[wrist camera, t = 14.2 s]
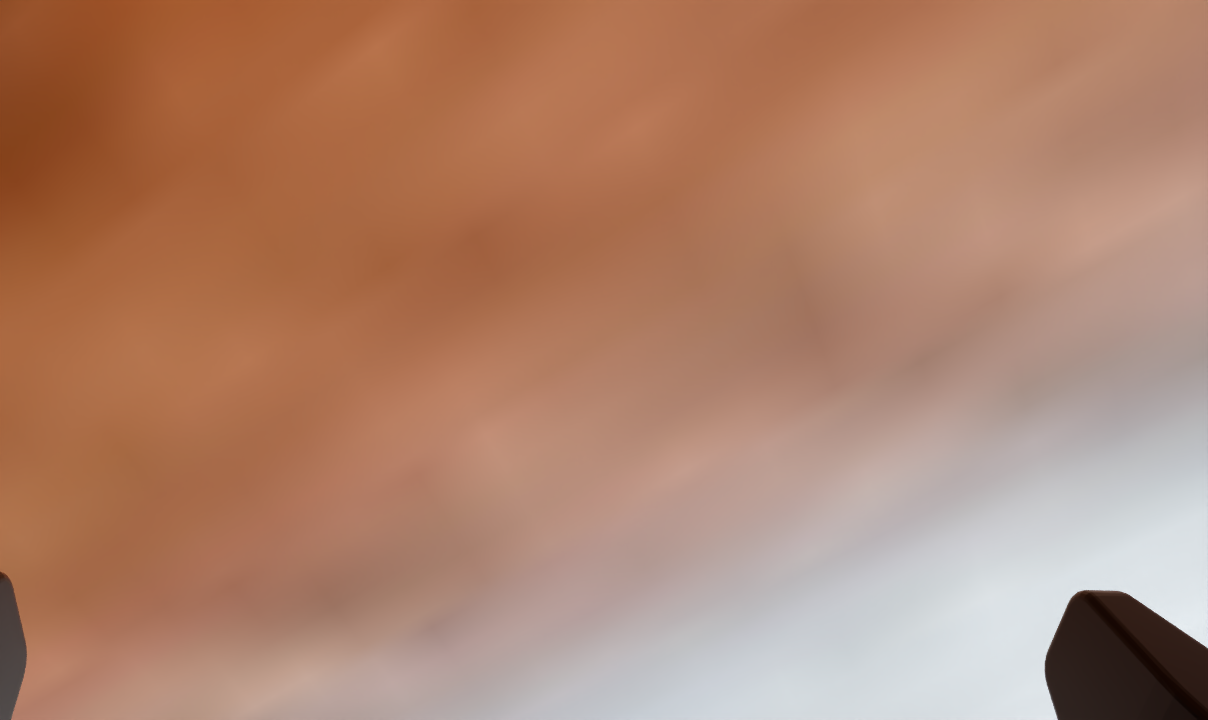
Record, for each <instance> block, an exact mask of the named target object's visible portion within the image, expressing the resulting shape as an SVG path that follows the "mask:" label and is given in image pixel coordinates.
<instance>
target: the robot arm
mask: <svg viewBox="0 0 1208 720" xmlns="http://www.w3.org/2000/svg"><path fill="white" fill-rule="evenodd" d="M26 658H27V650H26V642H25V638H24V633H23V629H22V624H21V620H20V616H19V611H18V607H17V603H16V598H15V594H14V589H13V586H12V583H11V581H10V579H9V578H8V576H7V575H6V574H4V573H2V572H0V720H11V718H12V714H13V711H14V708H15V704H16V701H17V697H18V694H19V691H20V687H21V684H22V681H23V677H24V673H25V668H26ZM1045 677H1046V682H1047V686H1048V690H1049V693H1050V696H1051V699H1052V702H1053V706H1054V709H1055V712H1056V715H1057V718H1058V720H1208V648H1207V647H1205V646H1204V645H1202V644H1201V643H1199V642H1198V641H1196V640H1195V639H1193V638H1192V637H1190V636H1189V635H1187V634H1186V633H1184V632H1183V631H1182V630H1180V629H1179V628H1177V627H1176V626H1174V625H1173V624H1171V623H1170V622H1168V621H1167V620H1165V619H1164V618H1162V617H1161V616H1159V615H1158V614H1156V613H1155V612H1154V611H1152V610H1151V609H1149V608H1148V607H1146V606H1145V605H1143V604H1142V603H1140V602H1139V601H1137V600H1136V599H1134V598H1133V597H1131V596H1130V595H1128V594H1126V593H1123V592H1120V591H1099V590H1084V591H1080V592H1078V593H1076V594H1075V595H1074V596H1073V597H1072V598H1071V599H1070V601H1069V603H1068V605H1067V608H1066V610H1065V612H1064V615H1063V617H1062V619H1061V621H1060V624H1059V626H1058V628H1057V631H1056V633H1055V635H1054V638H1053V640H1052V642H1051V645H1050V647H1049V649H1048V652H1047V655H1046V660H1045Z"/></svg>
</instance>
